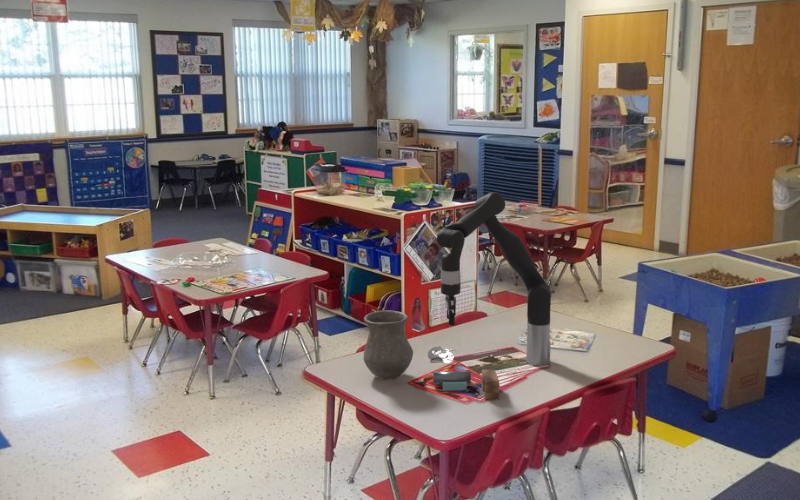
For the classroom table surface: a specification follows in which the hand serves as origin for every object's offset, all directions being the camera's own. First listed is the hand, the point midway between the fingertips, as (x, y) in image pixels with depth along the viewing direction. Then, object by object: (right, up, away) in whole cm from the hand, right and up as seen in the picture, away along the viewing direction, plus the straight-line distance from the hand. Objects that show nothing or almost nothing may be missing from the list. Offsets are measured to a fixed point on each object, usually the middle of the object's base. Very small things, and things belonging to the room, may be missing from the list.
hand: (450, 321), depth 299 cm
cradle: (+1, -24, 0) cm, 24 cm away
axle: (0, -23, -1) cm, 23 cm away
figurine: (-2, -19, +26) cm, 32 cm away
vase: (-24, -23, +9) cm, 34 cm away
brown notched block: (+14, -26, -8) cm, 31 cm away
